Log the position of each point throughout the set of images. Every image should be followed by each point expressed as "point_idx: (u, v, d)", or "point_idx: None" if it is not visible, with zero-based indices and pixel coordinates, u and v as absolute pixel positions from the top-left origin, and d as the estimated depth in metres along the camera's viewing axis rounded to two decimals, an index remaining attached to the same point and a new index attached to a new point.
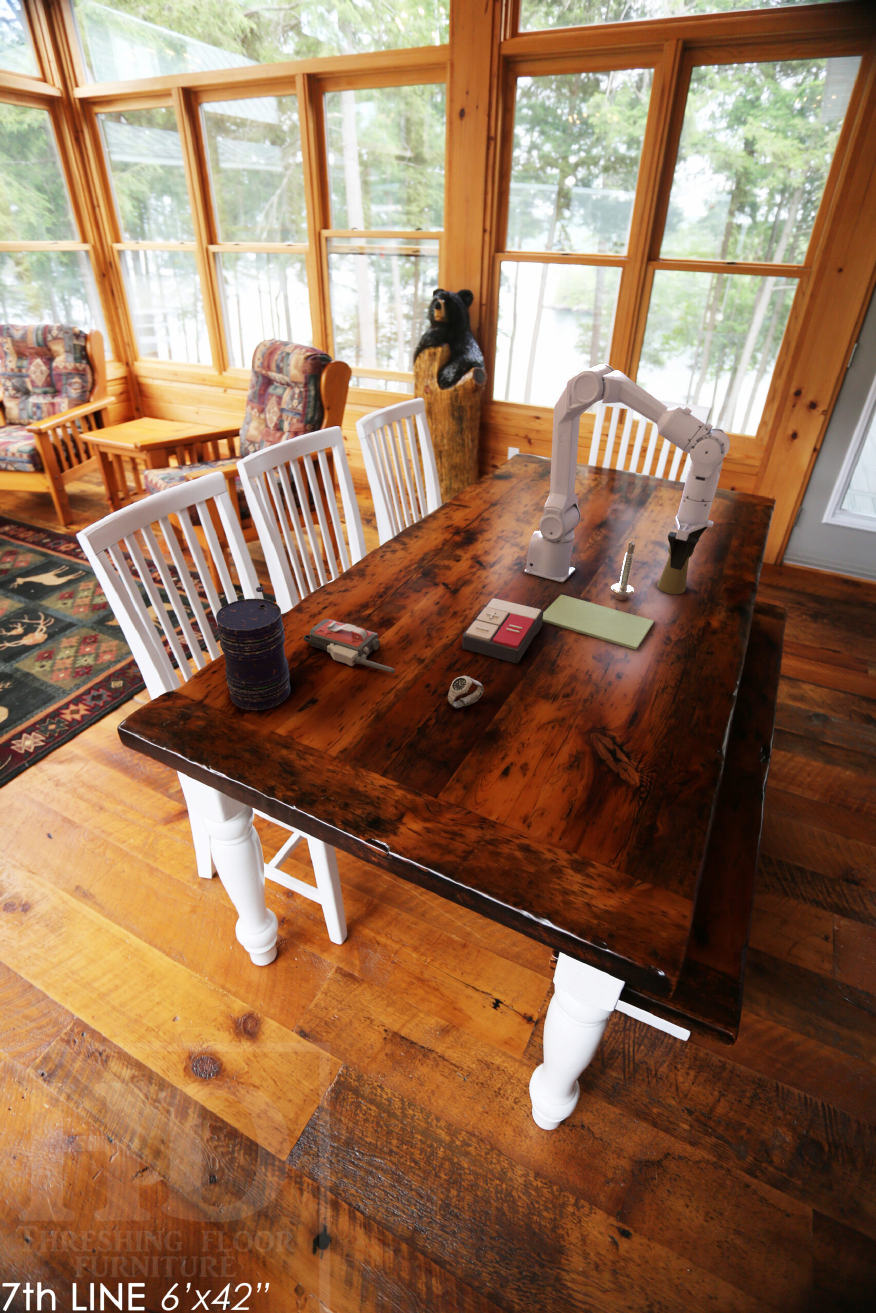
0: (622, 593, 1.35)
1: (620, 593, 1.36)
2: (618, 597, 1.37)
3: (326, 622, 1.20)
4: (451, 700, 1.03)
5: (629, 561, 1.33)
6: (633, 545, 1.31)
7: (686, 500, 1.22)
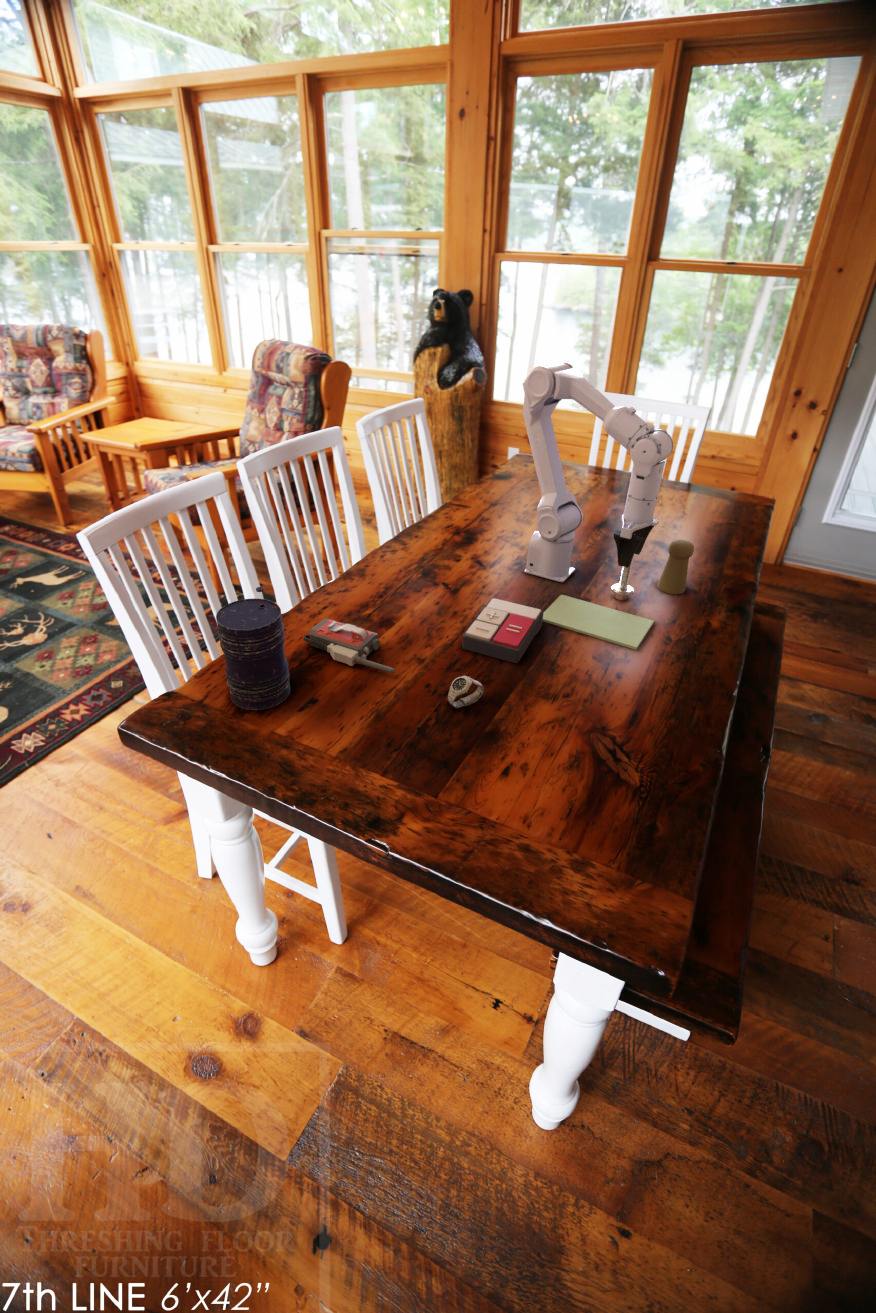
0: (622, 593, 1.35)
1: (620, 593, 1.36)
2: (618, 597, 1.37)
3: (326, 622, 1.20)
4: (451, 700, 1.03)
5: None
6: None
7: (630, 499, 1.25)
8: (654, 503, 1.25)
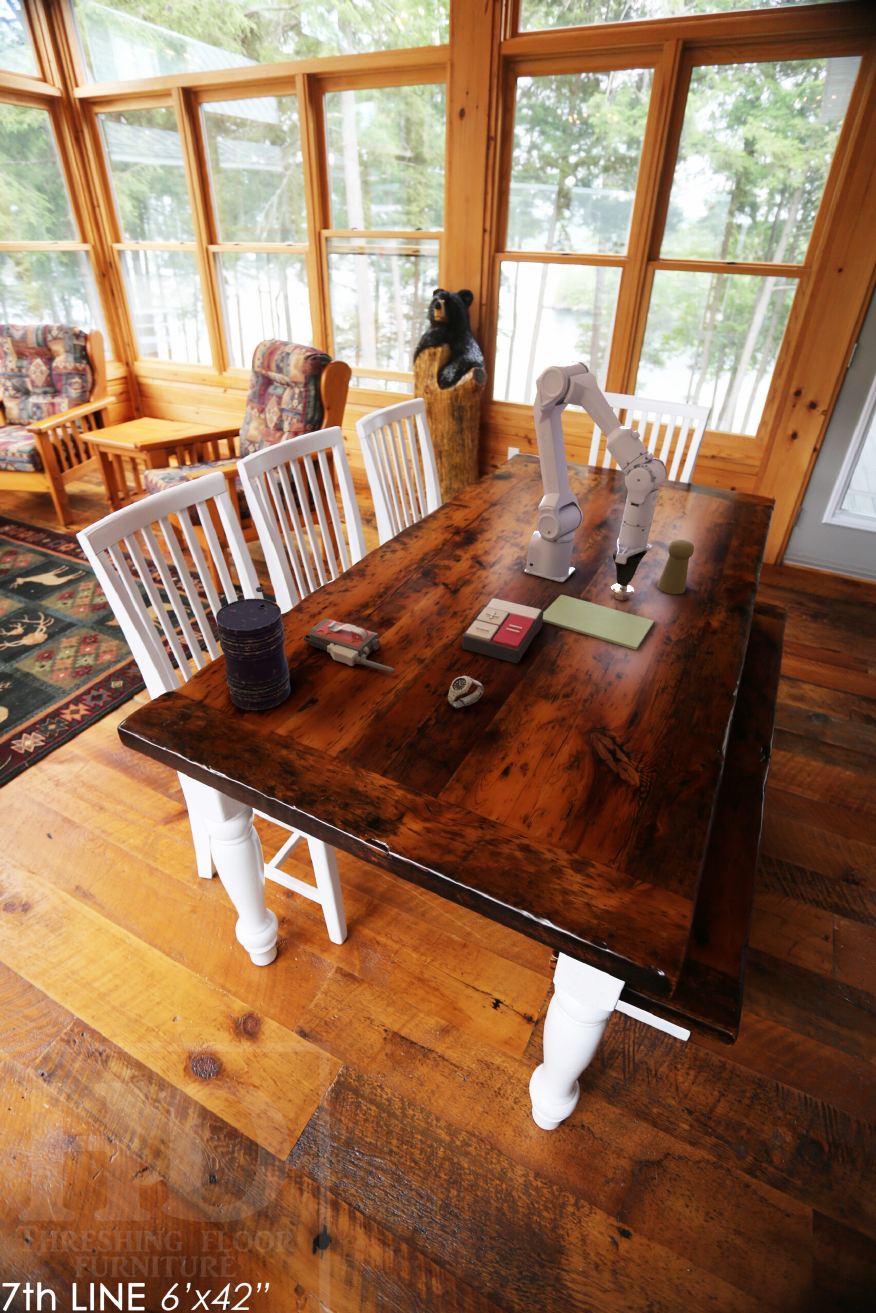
0: (622, 593, 1.35)
1: (620, 593, 1.36)
2: (618, 597, 1.37)
3: (326, 622, 1.20)
4: (451, 700, 1.03)
5: None
6: None
7: (625, 525, 1.28)
8: (648, 529, 1.28)
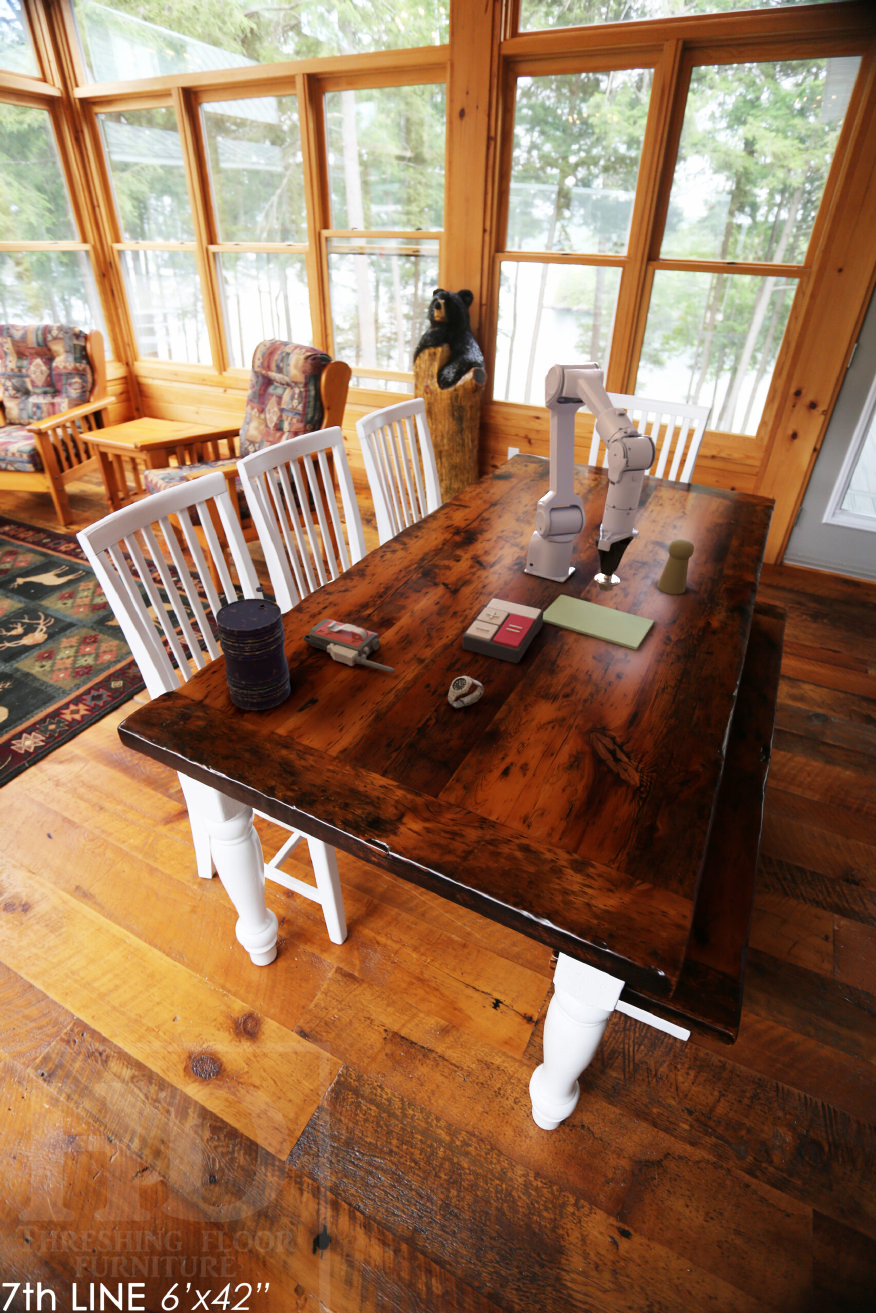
0: (606, 584, 1.24)
1: (604, 584, 1.24)
2: (602, 588, 1.26)
3: (326, 622, 1.20)
4: (451, 700, 1.03)
5: None
6: None
7: (609, 508, 1.16)
8: (634, 513, 1.16)
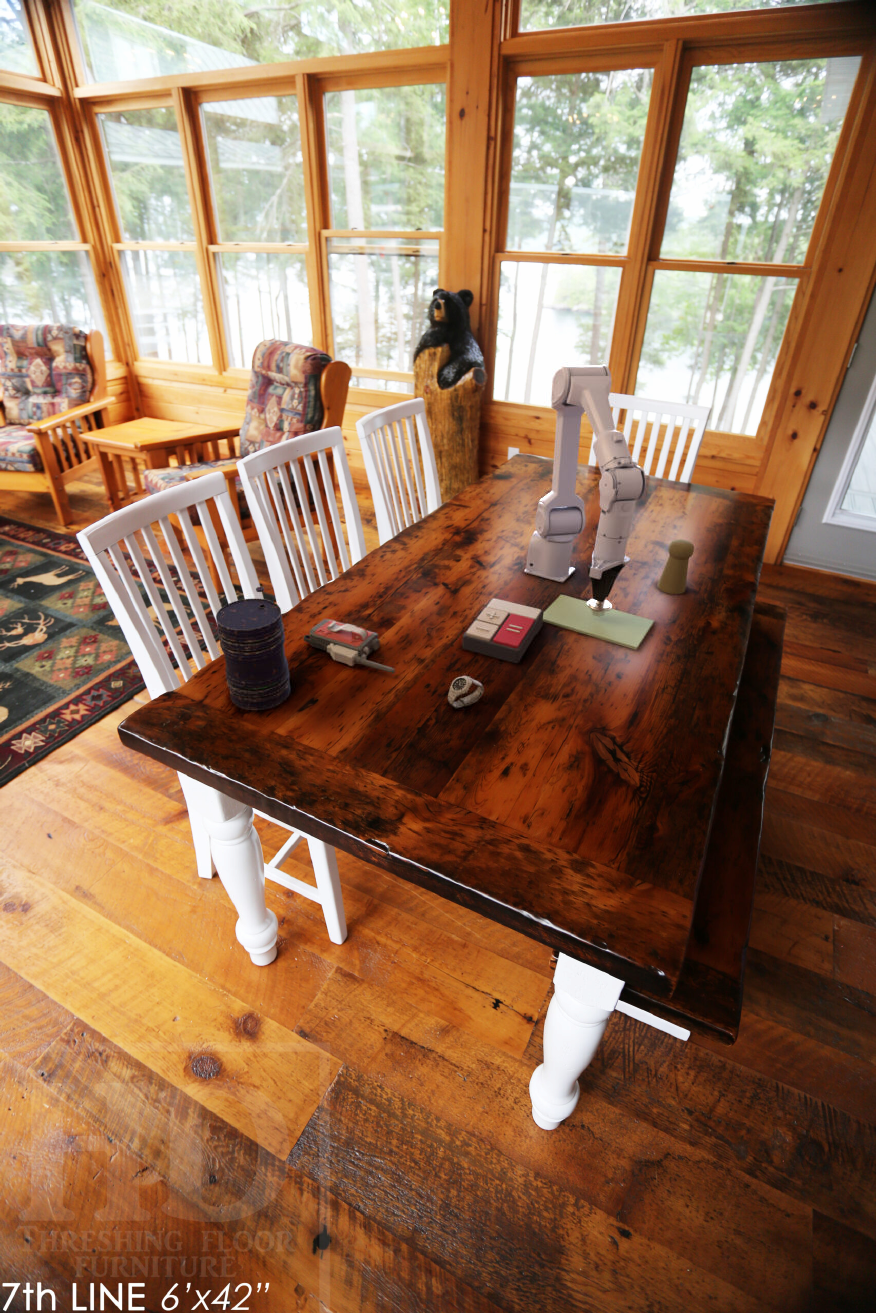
0: (599, 609, 1.25)
1: (596, 609, 1.26)
2: (595, 613, 1.27)
3: (326, 622, 1.20)
4: (451, 700, 1.03)
5: None
6: None
7: (600, 537, 1.18)
8: (625, 541, 1.18)
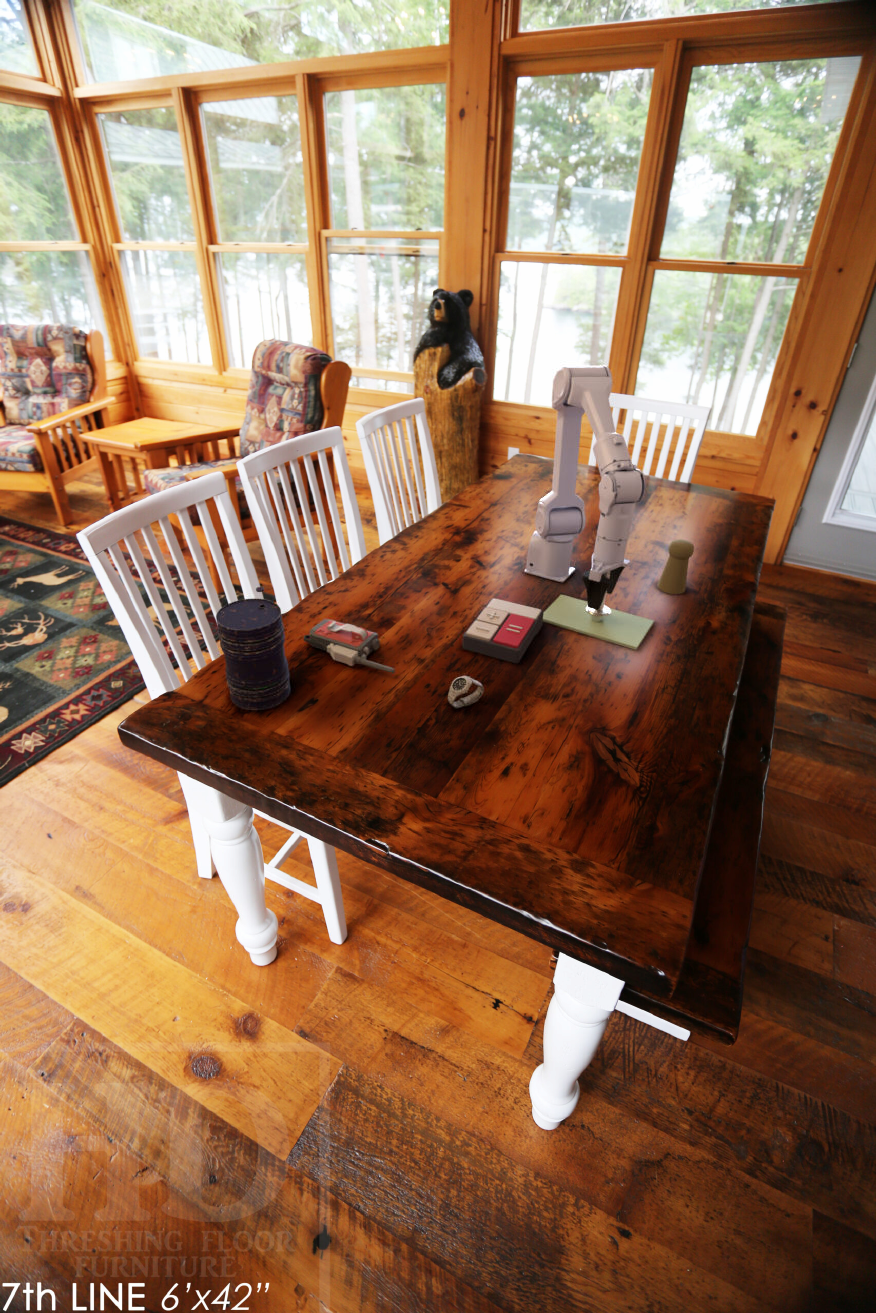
0: (598, 615, 1.26)
1: (595, 615, 1.26)
2: (594, 619, 1.28)
3: (326, 622, 1.20)
4: (451, 700, 1.03)
5: None
6: None
7: (600, 539, 1.18)
8: (625, 543, 1.18)
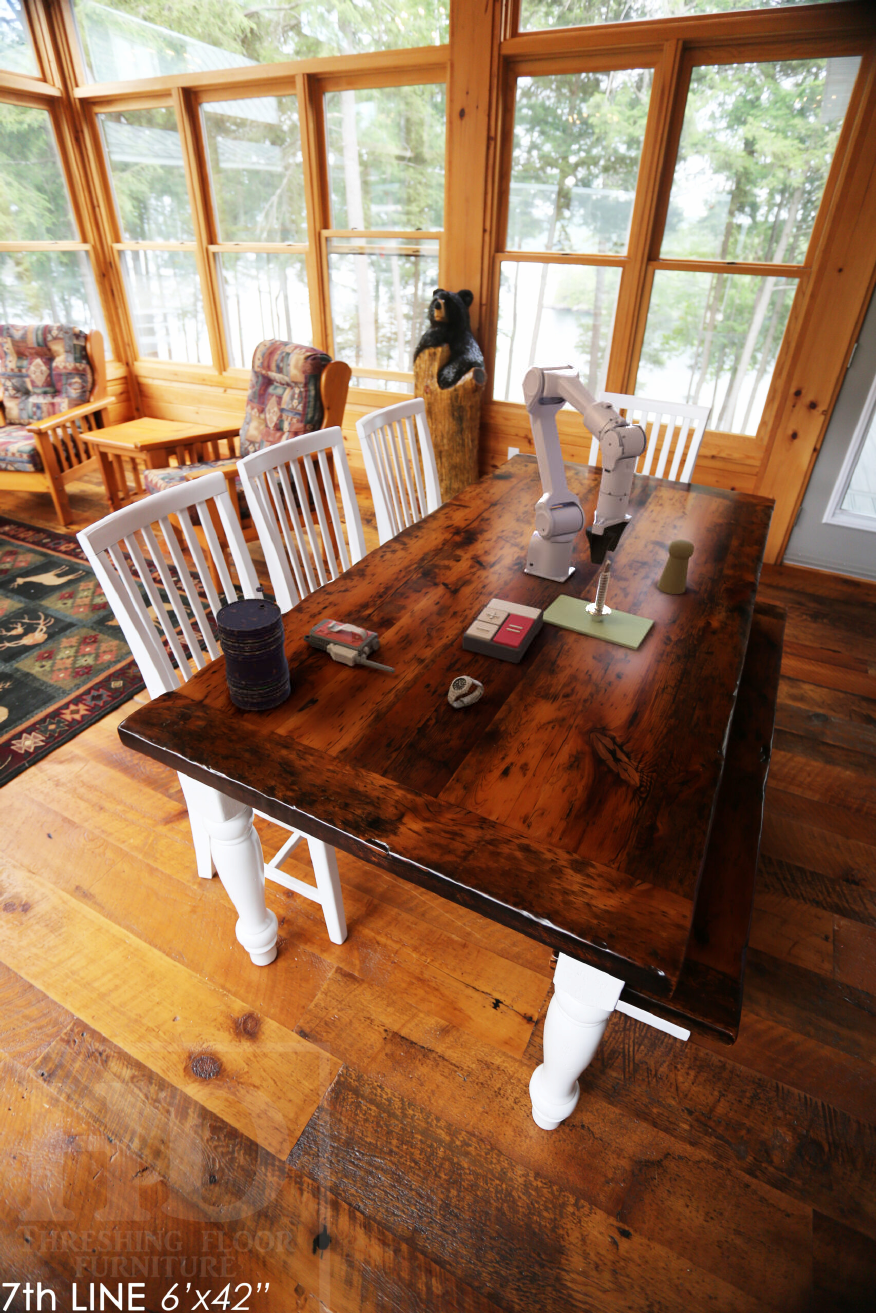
0: (598, 615, 1.26)
1: (595, 615, 1.26)
2: (594, 619, 1.28)
3: (326, 622, 1.20)
4: (451, 700, 1.03)
5: (605, 581, 1.24)
6: (608, 564, 1.22)
7: (602, 495, 1.23)
8: (626, 499, 1.22)
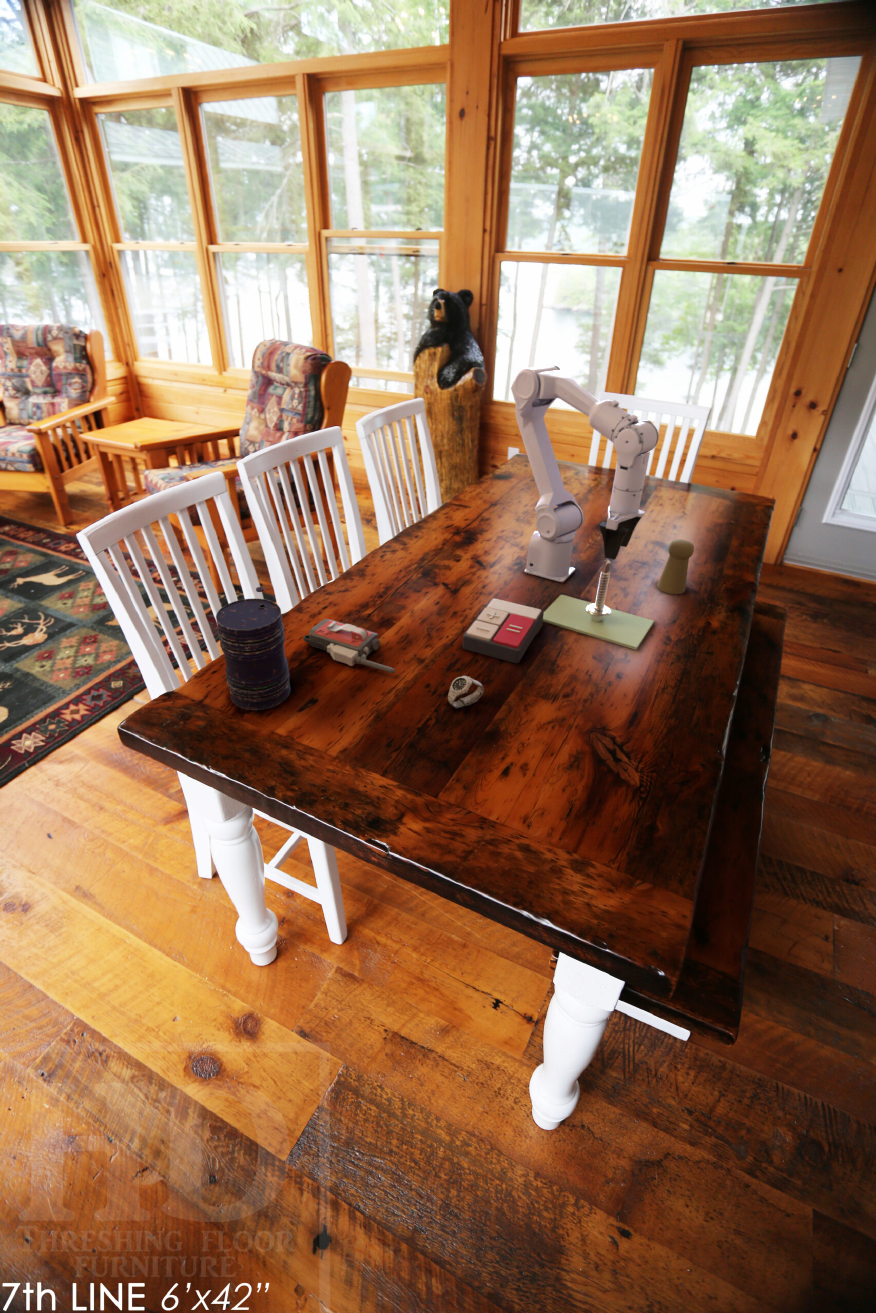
0: (598, 615, 1.26)
1: (595, 615, 1.26)
2: (594, 619, 1.28)
3: (326, 622, 1.20)
4: (451, 700, 1.03)
5: (605, 581, 1.24)
6: (608, 564, 1.22)
7: (616, 490, 1.25)
8: (640, 494, 1.24)
